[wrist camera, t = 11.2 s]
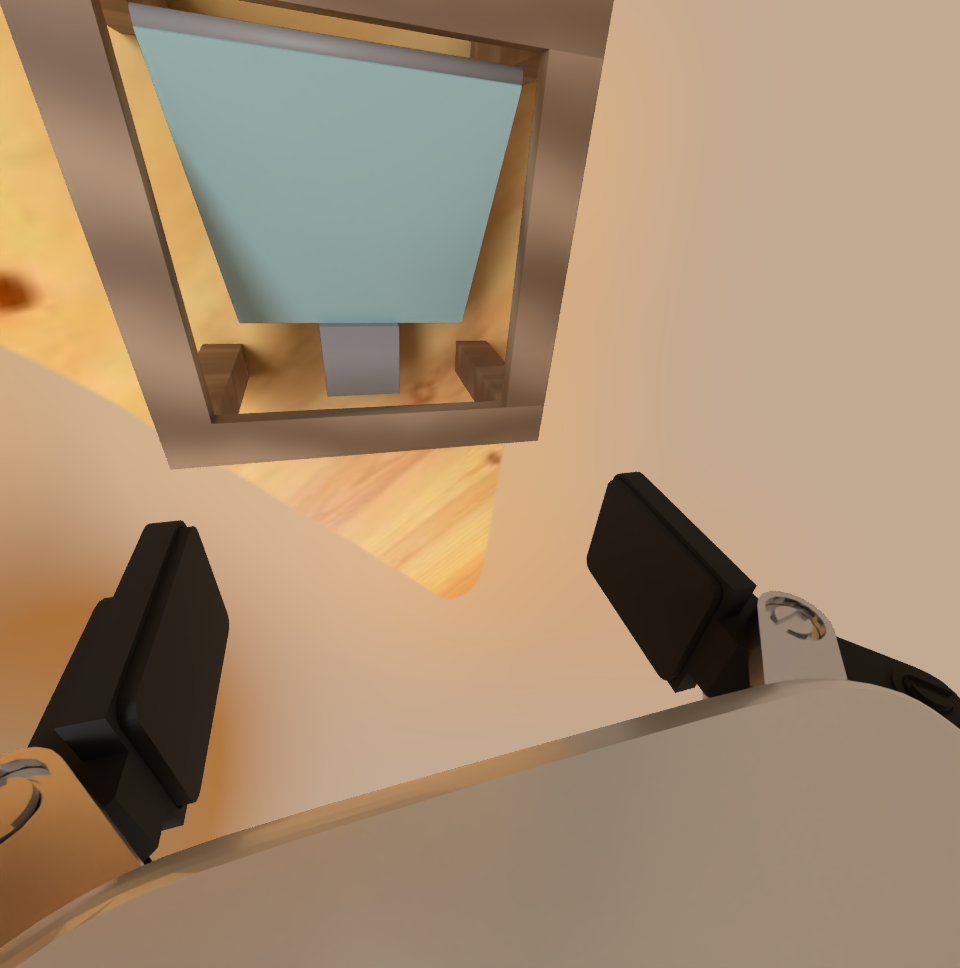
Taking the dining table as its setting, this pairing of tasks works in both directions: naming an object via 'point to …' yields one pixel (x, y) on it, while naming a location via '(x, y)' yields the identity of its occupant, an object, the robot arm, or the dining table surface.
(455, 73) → the trapdoor
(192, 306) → the dining table surface
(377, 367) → the gray cube
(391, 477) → the dining table surface
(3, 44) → the dining table surface
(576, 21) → the trapdoor frame
